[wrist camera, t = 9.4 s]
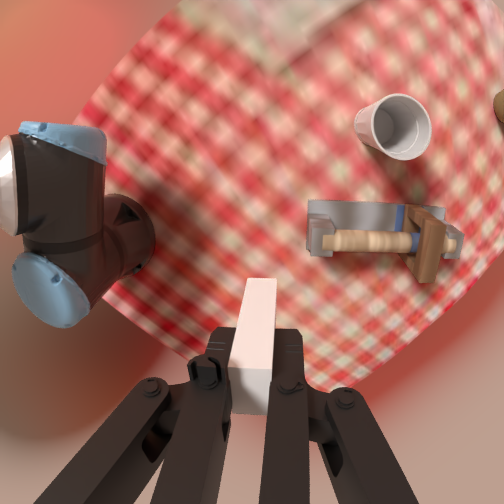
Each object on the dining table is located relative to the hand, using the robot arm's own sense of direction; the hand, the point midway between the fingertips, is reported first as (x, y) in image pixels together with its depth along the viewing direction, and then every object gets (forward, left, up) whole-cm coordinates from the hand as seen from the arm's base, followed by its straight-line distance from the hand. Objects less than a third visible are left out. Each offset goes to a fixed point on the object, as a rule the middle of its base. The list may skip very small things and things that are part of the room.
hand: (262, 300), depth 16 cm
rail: (+17, -6, -32) cm, 37 cm away
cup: (+15, +10, -33) cm, 37 cm away
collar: (+22, -6, -31) cm, 38 cm away
